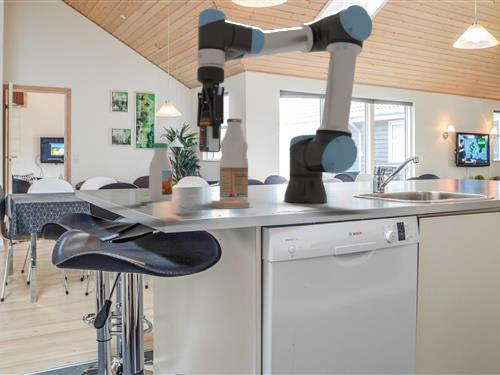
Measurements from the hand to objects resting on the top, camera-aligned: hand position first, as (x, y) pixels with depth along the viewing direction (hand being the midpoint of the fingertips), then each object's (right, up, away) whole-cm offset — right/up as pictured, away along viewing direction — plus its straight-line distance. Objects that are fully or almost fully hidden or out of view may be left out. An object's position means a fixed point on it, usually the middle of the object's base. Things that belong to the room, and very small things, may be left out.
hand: (209, 151), depth 124 cm
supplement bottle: (0, 0, 0) cm, 1 cm away
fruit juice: (+6, -16, +23) cm, 29 cm away
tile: (+4, -15, +6) cm, 16 cm away
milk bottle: (-19, -15, +25) cm, 35 cm away
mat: (+1, -17, +2) cm, 17 cm away
